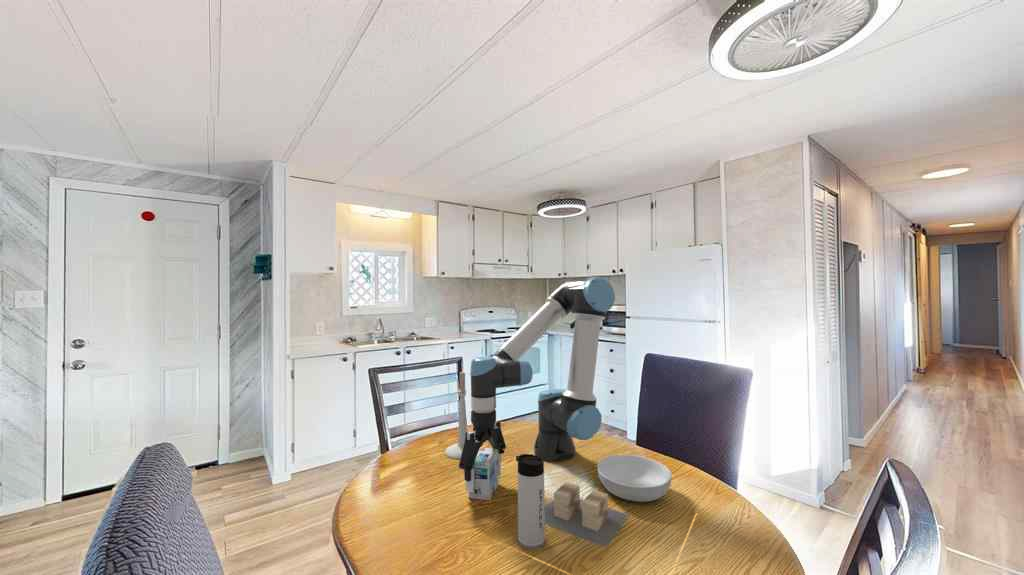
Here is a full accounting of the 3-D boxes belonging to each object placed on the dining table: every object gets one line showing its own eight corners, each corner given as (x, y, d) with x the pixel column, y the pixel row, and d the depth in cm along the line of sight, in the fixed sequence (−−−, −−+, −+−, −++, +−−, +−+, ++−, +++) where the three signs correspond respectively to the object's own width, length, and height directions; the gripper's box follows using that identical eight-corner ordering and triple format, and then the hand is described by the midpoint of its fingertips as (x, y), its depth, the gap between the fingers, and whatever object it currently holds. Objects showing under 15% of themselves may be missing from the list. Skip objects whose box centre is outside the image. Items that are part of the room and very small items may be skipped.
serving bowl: (583, 494, 114) (583, 470, 114) (618, 470, 129) (618, 449, 129) (653, 521, 99) (653, 494, 100) (683, 491, 115) (682, 467, 115)
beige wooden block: (566, 503, 107) (566, 481, 107) (579, 508, 105) (579, 485, 105) (554, 515, 102) (553, 492, 102) (567, 520, 99) (567, 496, 99)
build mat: (561, 494, 113) (561, 493, 113) (629, 516, 102) (629, 514, 102) (531, 520, 100) (531, 518, 100) (606, 548, 89) (606, 547, 89)
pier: (593, 512, 103) (593, 490, 103) (608, 517, 100) (607, 494, 101) (582, 525, 97) (581, 501, 97) (597, 531, 95) (597, 506, 95)
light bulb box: (490, 501, 110) (490, 462, 110) (467, 498, 111) (467, 460, 112) (499, 483, 120) (499, 448, 121) (478, 481, 122) (478, 446, 122)
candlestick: (482, 457, 140) (481, 373, 141) (446, 460, 137) (446, 375, 138) (477, 444, 153) (476, 367, 153) (444, 447, 150) (444, 369, 150)
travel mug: (515, 535, 94) (514, 452, 94) (542, 533, 95) (541, 450, 95) (518, 552, 88) (517, 462, 88) (547, 550, 88) (546, 461, 89)
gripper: (497, 398, 128) (498, 464, 128) (445, 417, 109) (445, 496, 108) (516, 402, 124) (517, 470, 124) (465, 422, 104) (466, 504, 104)
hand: (483, 482), depth 116 cm, fingers closed on light bulb box, 12 cm apart
